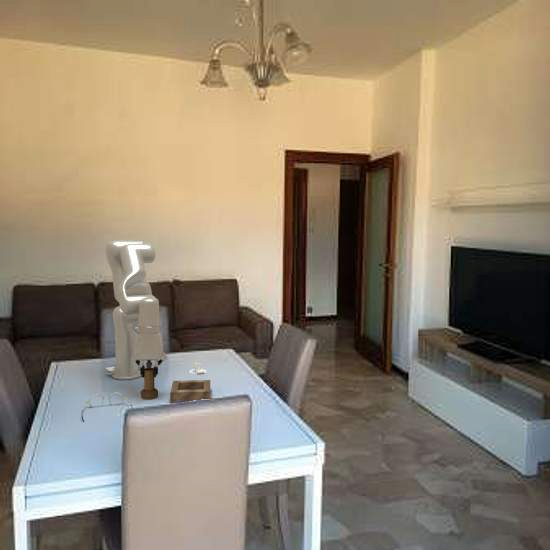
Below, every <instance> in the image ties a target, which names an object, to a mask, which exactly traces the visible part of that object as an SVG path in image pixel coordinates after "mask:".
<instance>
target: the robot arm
mask: <svg viewBox="0 0 550 550" xmlns="http://www.w3.org/2000/svg"><path fill="white" fill-rule="evenodd" d="M105 256H106V259H107V263H108V265H109V267H110V270H111V273H112V275H111V276H112V284H113V285H112V287H113V292H114V293H113V294H114V299H115V300H116V302H118V304H119V305H117V306H116V307H115V308H114V309H113V312H112V319H113V324H114V336H115V337H114V338H115V339H114V340H115V342H114V343H115V344H114V345H115V347H114V348H115V366H105V372H107V373H111V375H112V376H111V377H112V379H115V380H120V381H121V380H123V381H124V380H135V379H138V378H140V377H141V379H142V378H143V379H144V369H145V368H146V365H145V364H144V363H145V361H147V360H151V361H154V366H153V368H154V378H157V376H158V374H159V366H160V365H162V363H164V362H166V361H167V360H168V356H167V354H166V353H165V352H164V349H163V348H164V347H163V338H162V334H161V332H160V307H159V306H160V302H159V299H158V298H156V297H155V296H154V295H153V294H152V292H153V291H152V287H151V284H150V283H149V282H148V281H147V280H144V279H146V276H147V271H146V267H145V264H152V263H154V262H155V260H156V250H155V248H154V246H153V244H152V243H150V242H148V241H145V240H142V239H141V240H133V239H131V240H129V239H126V240H125V239H119V240H117V239H116V240H111V241H109V242H108V243H107V244H106V247H105ZM133 327H134V328H133ZM136 331H137V332H138V333H137V332H136ZM139 368H140V369H139Z"/></svg>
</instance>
